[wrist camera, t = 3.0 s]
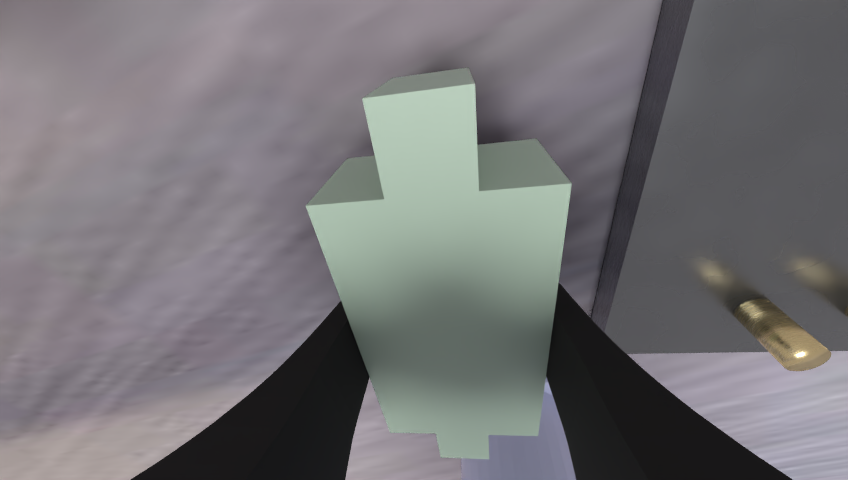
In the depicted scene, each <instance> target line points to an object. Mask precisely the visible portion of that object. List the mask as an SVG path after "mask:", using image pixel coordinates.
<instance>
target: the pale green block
mask: <svg viewBox="0 0 848 480" xmlns="http://www.w3.org/2000/svg"><path fill="white" fill-rule="evenodd" d="M362 100H363V104H364V109H365V113H366V118H367V122H368V127H369V132H370V136H371V141H372V145H373V150H374V154H375V156H366V157H357V158H347V159H346V161H345V162H344V163H343V164H342V165H341V166H340V167H339V168H338V170H337V171H336V172H335V173H334V174H333V175H332V176H331V178H330V179H329V180H328V181H327V182H326V183H325V184H324V186H323V187H322V188H321V189H320V190H319V191H318V192H317V194H316V195H315V196H314V197H313V198H312V199H311V200H310V202H309V203H308V204H307V205H306V208H307V211H308V213H309V216H310V219H311V222H312V224H313V227H314V230H315V232H316V235H317V238H318V240H319V243H320V246H321V248H322V251H323V254H324V256H325V259H326V262H327V264H328V267H329V270H330V272H331V275H332V278H333V280H334V283H335V286H336V289H337V291H338V294H339V297H340V299H341V302H342V305H343V307H344V310H345V313H346V315H347V318H348V321H349V323H350V326H351V329H352V331H353V334H354V337H355V339H356V342H357V345H358V347H359V350H360V353H361V355H362V358H363V361H364V364H365V366H366V369H367V372H368V374H369V377H370V380H371V382H372V385H373V388H374V390H375V393H376V396H377V398H378V401H379V404H380V406H381V409H382V412H383V414H384V417H385V420H386V422H387V425H388V428H389V431H390V433H427V434H436V438H437V442H438V447H439V451H440V456H441V458H468V459H489V438H488V435H511V436H538V433H539V425H540V418H541V410H542V403H543V395H544V388H545V380H546V373H547V365H548V358H549V350H550V343H551V335H552V328H553V320H554V313H555V305H556V298H557V290H558V283H559V275H560V268H561V260H562V253H563V245H564V238H565V230H566V223H567V215H568V208H569V200H570V193H571V185H572V183H571V182H570V181H569V179H568V178H567V177H566V176H565V174H564V173H563V172H562V170H561V169H560V168H559V167H558V165H557V164H556V163H555V162H554V160H553V159H552V158H551V157H550V155H549V154H548V153H547V151H546V150H545V149H544V148H543V146H542V145H541V144H540V143H539V141H538V140H537V139H528V140H518V141H509V142H499V143H490V144H480V145H477V125H476V99H475V82H474V80H473V78H472V75H471V73H470V70H469V68H461V69H454V70H447V71H440V72H432V73H425V74H418V75H411V76H404V77H397V78H392V79H390V80H389V81H387V82H386V83H384V84H383V85H381V86H380V87H378V88H377V89H375V90H374V91H373V92H371V93H370V94H368V95H367V96H365V97H364V98H362Z"/></svg>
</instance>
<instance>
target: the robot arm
mask: <svg viewBox="0 0 848 480" xmlns="http://www.w3.org/2000/svg"><path fill="white" fill-rule="evenodd" d="M546 377H547V378H546V380H545V388H544V395H543V403H542V410H541V418H540V425H539V433H538V436H511V435H488V438H489V459H468V458H461V471H462V480H792V479H791V478H789V477H788V476H786V475H785V474H783V473H782V472H780V471H779V470H777V469H776V468H774V467H773V466H771V465H770V464H768V463H767V462H765V461H764V460H762V459H761V458H759V457H758V456H756V455H755V454H753V453H752V452H751V451H749V450H748V449H746V448H745V447H743V446H742V445H741V444H739V443H738V442H736V441H735V440H734V439H732V438H731V437H729V436H728V435H727V434H725V433H724V432H723V431H721V430H720V429H718V428H717V427H716V426H714V425H713V424H712V423H710V422H709V421H707V420H706V419H705V418H703V417H702V416H700V415H699V414H698V413H696V412H695V411H694V410H692V409H691V408H690V407H689V406H687V405H686V404H685V403H683V402H682V401H681V400H680V399H678V398H677V397H676V396H675V395H673V394H672V393H671V392H670V391H668V390H667V389H666V388H665V387H664V386H662V385H661V384H660V383H659V382H658V381H656V380H655V379H654V378H653V377H652V376H650V375H649V374H648V373H647V372H646V371H645V370H644V369H642V368H641V367H640V366H639V365H638V364H637V363H636V362H635V361H634V360H632V359H631V358H630V357H629V356H628V355H627V354H626V353H625V352H624V351H623V350H622V349H621V348H620V347H619V346H618V345H617V344H615V343H614V342H613V341H612V340H611V339H610V338H609V337H608V336H607V335H606V334H605V333H604V332H603V331H602V330H601V328H600V327H599V326H598V325H597V324H596V323H595V322H594V321H593V320H592V319H591V318H590V317H589V316H588V315H587V314H586V313H585V312H584V311H583V309H582V308H581V307H580V306H579V305H578V304H577V303H576V302H575V301H574V299H573V298H572V297H571V296H570V295H569V294H568V293H567V291H566V290H565V289H564V288H563V287H562V286H561V285H560V284H559V283H558V290H557V298H556V305H555V313H554V320H553V328H552V335H551V343H550V350H549V358H548V365H547V373H546ZM368 380H369V374H368V372H367V369H366V366H365V364H364V361H363V358H362V355H361V353H360V350H359V347H358V345H357V342H356V339H355V337H354V334H353V331H352V329H351V326H350V323H349V321H348V318H347V315H346V313H345V310H344V307H343V305H342V302H341V301H340V302H339V304H338V305H337V306H336V307H335V308H334V309H333V311H332V312H331V313H330V314H329V315H328V316H327V317H326V319H325V320H324V321H323V322H322V323H321V324H320V325H319V326H318V328H317V329H316V330H315V331H314V332H313V333H312V334H311V335H310V336H309V337H308V339H307V340H306V341H305V342H304V343H303V344H302V345H301V346H300V347H299V348H298V349H297V350H296V351H295V352H294V353H293V354H292V355H291V356H290V357H289V358H288V359H287V360H286V361H285V362H284V363H283V364H282V365H281V366H280V367H279V368H278V369H277V370H276V371H275V372H274V373H273V374H272V375H271V376H270V377H268V378H267V379H266V380H265V381H264V382H263V383H262V384H260V385H259V386H258V387H257V388H256V389H255V390H254V391H253V392H251V393H250V394H249V395H248V396H247V397H245V398H244V399H243V400H242V401H240V402H239V403H238V404H237V405H235V406H234V407H233V408H232V409H230V410H229V411H228V412H227V413H225V414H224V415H223V416H222V417H220V418H219V419H218V420H216V421H215V422H214V423H213V424H211V425H210V426H209V427H207V428H206V429H205V430H203V431H202V432H200V433H199V434H198V435H196V436H195V437H194V438H192V439H191V440H189V441H188V442H187V443H185V444H184V445H182V446H181V447H179V448H178V449H176V450H175V451H174V452H172V453H171V454H169V455H168V456H166V457H165V458H163V459H162V460H160V461H159V462H157V463H156V464H154V465H153V466H151V467H150V468H148V469H147V470H145V471H143V472H142V473H140V474H139V475H137V476H136V477H134V478H133V479H131V480H345V477H346V471H347V466H348V461H349V455H350V450H351V444H352V439H353V435H354V431H355V427H356V423H357V419H358V416H359V412H360V409H361V405H362V402H363V398H364V394H365V391H366V387H367V384H368Z"/></svg>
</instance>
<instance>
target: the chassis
mask: <svg viewBox="0 0 848 480" xmlns="http://www.w3.org/2000/svg"><path fill="white" fill-rule="evenodd" d="M591 319H592V320H593V321H594V322H595V323H596V324H597V325H598V326H599V327H600V328H601V330H602V331H603V332H604V333H605V334H606V335H607V336H608V337H609V338H610V339H611V340H612V341H613V342H614V343H615V344H617V345H618V346H619V347H620V348H621V349H622V350H623V351H624V352H625V353H626V354H638V353H713V352H769V353H770V354H771V355H772V356H773V357H774V358H775V359H776V360H777V361H778V362H779V363H780V364H781V365H782V366H783V367H784V368H786V369H787V370H790V371H804V370H809V369H813V368H816V367H818V366H820V365H822V364H824V363H825V362H827V361H828V360H829V358H830V357H831V352H830V351H848V0H663V5H662V9H661V13H660V18H659V22H658V27H657V31H656V35H655V40H654V44H653V48H652V53H651V57H650V62H649V66H648V70H647V75H646V79H645V84H644V88H643V92H642V97H641V101H640V106H639V110H638V114H637V119H636V123H635V127H634V132H633V136H632V141H631V145H630V149H629V154H628V158H627V163H626V167H625V171H624V176H623V180H622V185H621V189H620V193H619V198H618V202H617V206H616V211H615V215H614V220H613V224H612V228H611V233H610V237H609V242H608V246H607V250H606V255H605V259H604V264H603V268H602V272H601V277H600V281H599V285H598V290H597V294H596V299H595V303H594V307H593V312H592V316H591Z"/></svg>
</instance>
